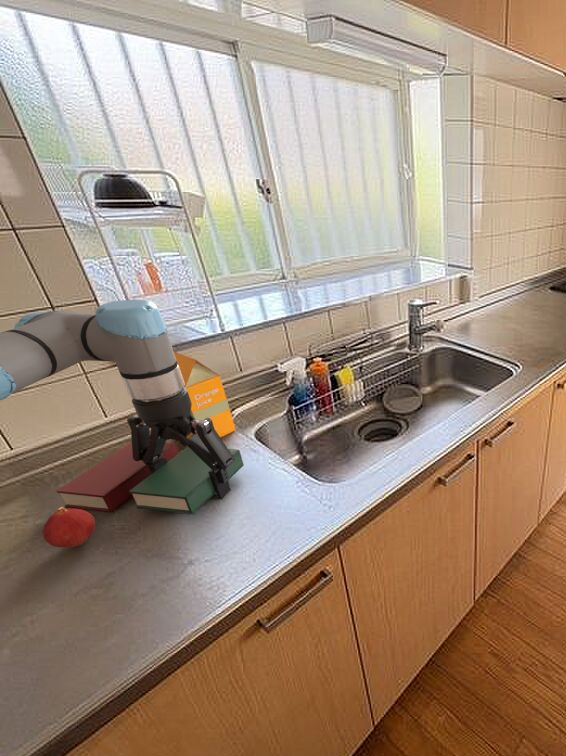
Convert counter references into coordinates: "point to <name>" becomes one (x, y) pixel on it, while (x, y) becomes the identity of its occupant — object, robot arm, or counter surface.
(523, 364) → the counter surface
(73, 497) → the burgundy book
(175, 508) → the green book
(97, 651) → the counter surface
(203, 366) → the orange juice
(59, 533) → the pomegranate
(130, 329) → the robot arm
